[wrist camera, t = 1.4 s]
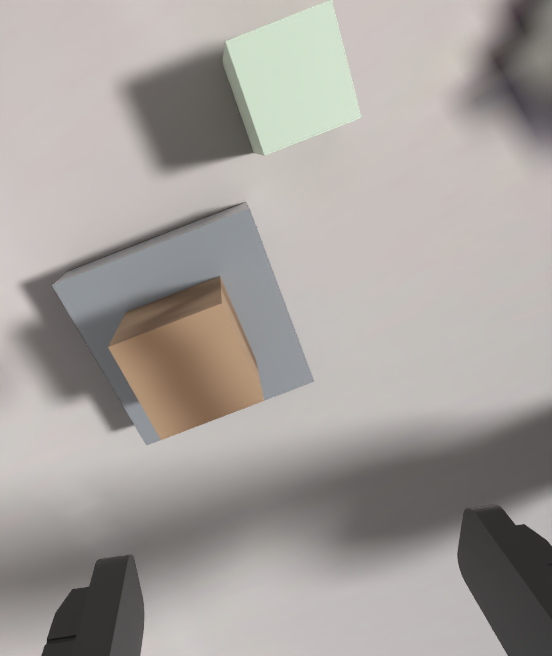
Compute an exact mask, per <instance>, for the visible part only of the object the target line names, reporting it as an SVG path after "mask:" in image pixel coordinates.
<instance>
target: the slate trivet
mask: <svg viewBox="0 0 552 656" xmlns="http://www.w3.org/2000/svg"><path fill="white" fill-rule="evenodd" d="M218 276H220V277H221V279H222V281H223V284H224V286H225V288H226V291H227V293H228V295H229V298H230V300H231V302H232V305H233V307H234V309H235V312H236V314H237V316H238V319H239V321H240V324H241V326H242V328H243V331H244V333H245V335H246V338H247V340H248V342H249V345H250V347H251V349H252V352H253V354H254V356H255V359H256V362H257V367H258V372H259V377H260V382H261V387H262V392H263V397H264V400H267V399H269V398H272V397H275V396H277V395H280V394H282V393H285V392H288V391H290V390H293V389H295V388H298V387H301V386H303V385H306V384H309V383H311V382H314V380H313V377H312V375H311V372H310V369H309V367H308V364H307V361H306V359H305V356H304V353H303V350H302V348H301V345H300V342H299V340H298V337H297V334H296V332H295V329H294V326H293V324H292V321H291V318H290V316H289V313H288V310H287V308H286V305H285V302H284V300H283V297H282V294H281V292H280V289H279V286H278V284H277V281H276V278H275V276H274V273H273V270H272V268H271V265H270V262H269V259H268V257H267V254H266V251H265V249H264V246H263V243H262V241H261V238H260V235H259V233H258V230H257V227H256V225H255V222H254V219H253V217H252V214H251V211H250V209H249V207H248V205H247V203H246V202H245V203H242V204H240V205H237V206H235V207H232V208H229V209H227V210H224V211H222V212H219V213H217V214H214V215H211V216H209V217H206V218H204V219H201V220H199V221H196V222H193V223H191V224H188V225H186V226H183V227H181V228H178V229H175V230H173V231H170V232H168V233H165V234H163V235H160V236H157V237H155V238H152V239H150V240H147V241H145V242H142V243H139V244H137V245H134V246H132V247H129V248H127V249H124V250H121V251H119V252H116V253H114V254H111V255H109V256H106V257H103V258H101V259H98V260H96V261H93V262H91V263H88V264H85V265H83V266H80V267H78V268H75V269H73V270H70V271H67V272H66V273H65V274H64V275H63V276H62V277H61V278H60V279H58V280H57V281H56V282H55V283H54V284H53V285H52V286H53V288H54V290H55V292H56V293H57V295H58V297H59V298H60V300H61V302H62V303H63V305H64V307H65V308H66V310H67V312H68V314H69V315H70V317H71V319H72V320H73V322H74V324H75V325H76V327H77V329H78V330H79V332H80V334H81V336H82V337H83V339H84V341H85V342H86V344H87V346H88V347H89V349H90V351H91V352H92V354H93V356H94V358H95V359H96V361H97V363H98V364H99V366H100V368H101V369H102V371H103V373H104V374H105V376H106V378H107V379H108V381H109V383H110V385H111V386H112V388H113V390H114V391H115V393H116V395H117V396H118V398H119V400H120V401H121V403H122V405H123V407H124V408H125V410H126V412H127V413H128V415H129V417H130V418H131V420H132V422H133V423H134V425H135V427H136V429H137V430H138V432H139V434H140V435H141V437H142V439H143V440H144V442H145V444H146V445H149V444H151V443H154V442H157V441H159V440H161V439H160V437H159V436H158V434H157V432H156V430H155V429H154V427H153V425H152V423H151V422H150V420H149V418H148V416H147V415H146V413H145V411H144V409H143V408H142V406H141V404H140V402H139V401H138V399H137V397H136V395H135V394H134V392H133V390H132V388H131V387H130V385H129V383H128V381H127V380H126V378H125V376H124V374H123V373H122V371H121V369H120V367H119V366H118V364H117V362H116V360H115V359H114V357H113V355H112V353H111V352H110V350H109V348H108V346H109V344H110V342H111V340H112V338H113V336H114V334H115V332H116V330H117V328H118V326H119V324H120V322H121V321H122V319H123V317H124V315H125V313H126V312H128V311H130V310H133V309H136V308H138V307H141V306H143V305H146V304H149V303H151V302H154V301H156V300H159V299H162V298H164V297H167V296H169V295H172V294H174V293H177V292H180V291H182V290H185V289H187V288H190V287H193V286H195V285H198V284H200V283H203V282H205V281H208V280H211V279H213V278H216V277H218Z"/></svg>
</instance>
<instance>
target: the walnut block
mask: <svg viewBox="0 0 552 656" xmlns="http://www.w3.org/2000/svg"><path fill="white" fill-rule="evenodd" d="M108 348H109V350H110V352H111V353H112V355H113V357H114V359H115V360H116V362H117V364H118V366H119V367H120V369H121V371H122V373H123V374H124V376H125V378H126V380H127V381H128V383H129V385H130V387H131V388H132V390H133V392H134V394H135V395H136V397H137V399H138V401H139V402H140V404H141V406H142V408H143V409H144V411H145V413H146V415H147V416H148V418H149V420H150V422H151V423H152V425H153V427H154V429H155V430H156V432H157V434H158V436H159V437H160V439H161V440H162V439H165V438H168V437H170V436H173V435H175V434H178V433H181V432H183V431H186V430H189V429H191V428H194V427H196V426H199V425H202V424H204V423H207V422H210V421H212V420H215V419H217V418H220V417H223V416H225V415H228V414H230V413H233V412H236V411H238V410H241V409H244V408H246V407H249V406H251V405H254V404H257V403H259V402H262V401H264V397H263V392H262V387H261V382H260V377H259V372H258V367H257V362H256V359H255V356H254V354H253V352H252V349H251V347H250V345H249V342H248V340H247V338H246V335H245V333H244V331H243V328H242V326H241V324H240V321H239V319H238V316H237V314H236V312H235V309H234V307H233V305H232V302H231V300H230V298H229V295H228V293H227V291H226V288H225V286H224V284H223V281H222V279H221V277H220V276H218V277H216V278H213V279H211V280H208V281H205V282H203V283H200V284H198V285H195V286H193V287H190V288H187V289H185V290H182V291H180V292H177V293H174V294H172V295H169V296H167V297H164V298H162V299H159V300H156V301H154V302H151V303H149V304H146V305H143V306H141V307H138V308H136V309H133V310H130V311H128V312H126V313H125V315H124V317H123V319H122V321H121V322H120V324H119V326H118V328H117V330H116V332H115V334H114V336H113V338H112V340H111V342H110V344H109V346H108Z"/></svg>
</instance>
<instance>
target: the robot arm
mask: <svg viewBox="0 0 552 656" xmlns="http://www.w3.org/2000/svg"><path fill="white" fill-rule="evenodd" d="M457 556H458V564H459V568H460V571H461V574H462V577H463V579H464V581H465V583H466V584H467V586H468V588H469V590H470V591H471V593H472V595H473V596H474V598H475V600H476V602H477V603H478V605H479V607H480V608H481V610H482V612H483V614H484V615H485V617H486V619H487V620H488V622H489V624H490V626H491V627H492V629H493V631H494V632H495V634H496V636H497V638H498V639H499V641H500V643H501V645H502V646H503V648H504V650H505V651H506V653H507V655H508V656H552V546H551V545H550V544H549V542H548V541H547V540H546V539H544V538H543V537H541V536H540V535H539V534H537V533H536V532H534V531H533V530H532V529H530V528H529V527H527V526H526V525H525V524H523V525H515V524H514V522H513V521H512V520H511V519H510V517H509V516H508V515H507V514H506V512H505V511H504V510H503V509H502V508H501V507H500V506H498V505H488V506H481V507H474V508H467V509H465V511H464V513H463V519H462V526H461V532H460V539H459V546H458V554H457ZM143 630H144V602H143V596H142V592H141V587H140V583H139V578H138V574H137V569H136V565H135V560H134V557H133V555H125V556H118V557H111V558H104V559H99V560H97V562H96V564H95V567H94V571H93V575H92V579H91V582H90V586H89V587H85V588H78V589H72V591H71V592H70V593H69V595H68V596H67V598H66V599H65V600H64V602H63V603H62V605H61V606H60V607H59V609H58V610H57V611H56V613H55V616H54V619H53V622H52V625H51V628H50V631H49V634H48V637H47V644H46V645H45V646H44V649H43V653H42V656H140V653H141V646H142V638H143Z"/></svg>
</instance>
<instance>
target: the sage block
mask: <svg viewBox="0 0 552 656" xmlns="http://www.w3.org/2000/svg"><path fill="white" fill-rule="evenodd" d="M222 63H223V66H224V69H225V72H226V75H227V78H228V80H229V83H230V86H231V89H232V92H233V95H234V97H235V100H236V103H237V106H238V109H239V112H240V114H241V117H242V120H243V123H244V126H245V129H246V132H247V134H248V137H249V140H250V143H251V146H252V149H253V151H254V153H256V154H260V155H264V156H265V155H267V154H270V153H273V152H275V151H278V150H280V149H283V148H285V147H288V146H291V145H293V144H296V143H298V142H301V141H303V140H306V139H308V138H311V137H314V136H316V135H319V134H321V133H324V132H326V131H329V130H332V129H334V128H337V127H339V126H342V125H344V124H347V123H349V122H352V121H355V120H357V119H360V118H362V117H361V113H360V109H359V105H358V101H357V97H356V93H355V89H354V85H353V81H352V77H351V74H350V70H349V66H348V62H347V58H346V54H345V50H344V46H343V42H342V38H341V34H340V30H339V26H338V22H337V18H336V14H335V10H334V6H333V2H332V0H329V1H326V2H324V3H321V4H319V5H316V6H314V7H311V8H309V9H306V10H304V11H301V12H298V13H296V14H293V15H291V16H288V17H286V18H283V19H281V20H278V21H276V22H273V23H271V24H268V25H265V26H263V27H260V28H258V29H255V30H253V31H250V32H248V33H245V34H243V35H240V36H238V37H235V38H233V39H230V40H227V41H225V47H224V54H223V62H222Z"/></svg>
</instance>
